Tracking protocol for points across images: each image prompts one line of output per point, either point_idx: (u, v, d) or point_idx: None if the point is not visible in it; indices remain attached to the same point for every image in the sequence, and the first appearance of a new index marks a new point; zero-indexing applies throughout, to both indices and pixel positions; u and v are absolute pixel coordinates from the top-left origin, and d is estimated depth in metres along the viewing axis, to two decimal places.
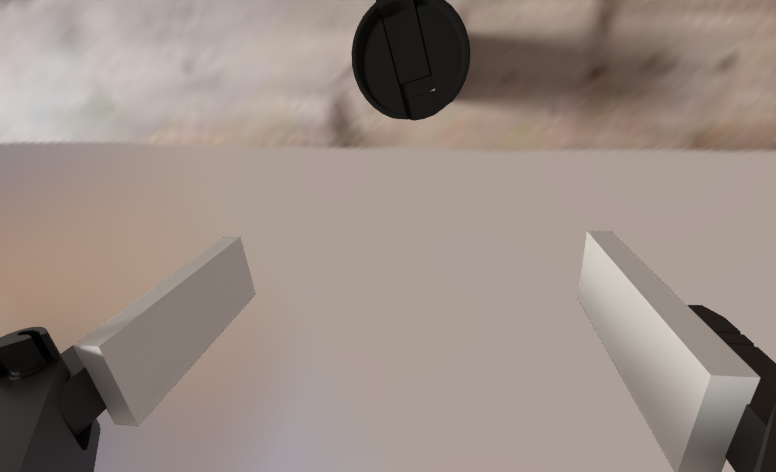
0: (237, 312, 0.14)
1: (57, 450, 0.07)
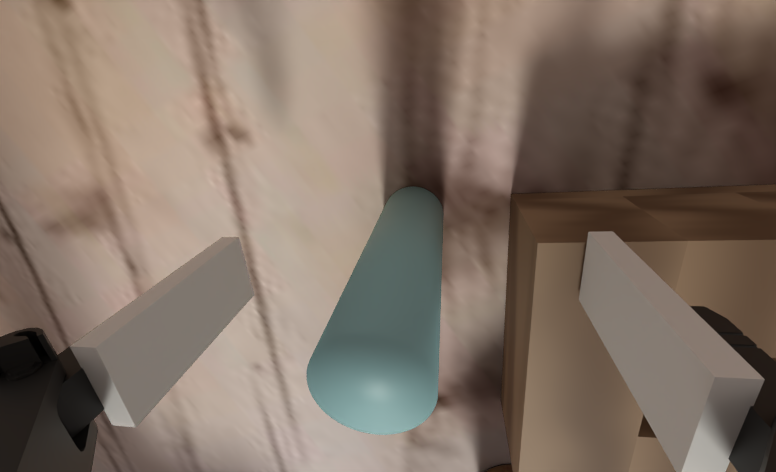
0: (235, 312, 0.14)
1: (54, 451, 0.07)
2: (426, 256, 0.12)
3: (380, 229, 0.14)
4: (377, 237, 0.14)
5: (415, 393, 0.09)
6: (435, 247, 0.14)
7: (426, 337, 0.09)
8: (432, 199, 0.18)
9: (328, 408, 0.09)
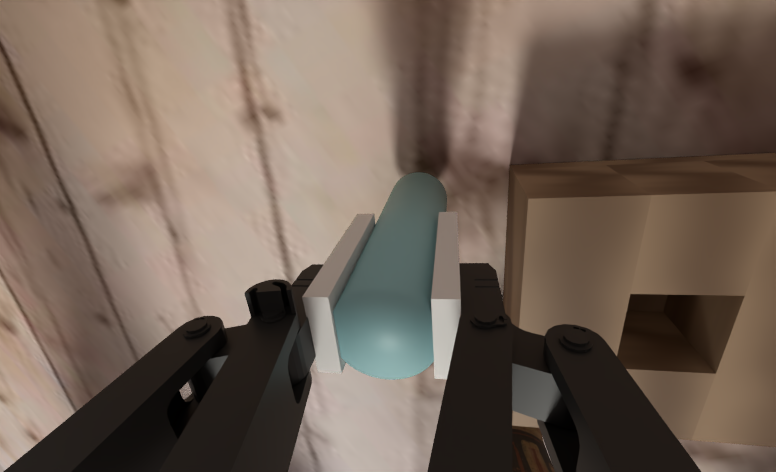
0: None
1: (279, 403, 0.08)
2: (430, 232, 0.14)
3: (389, 209, 0.16)
4: (386, 216, 0.15)
5: (421, 341, 0.10)
6: None
7: (430, 295, 0.10)
8: (436, 184, 0.20)
9: (347, 357, 0.11)
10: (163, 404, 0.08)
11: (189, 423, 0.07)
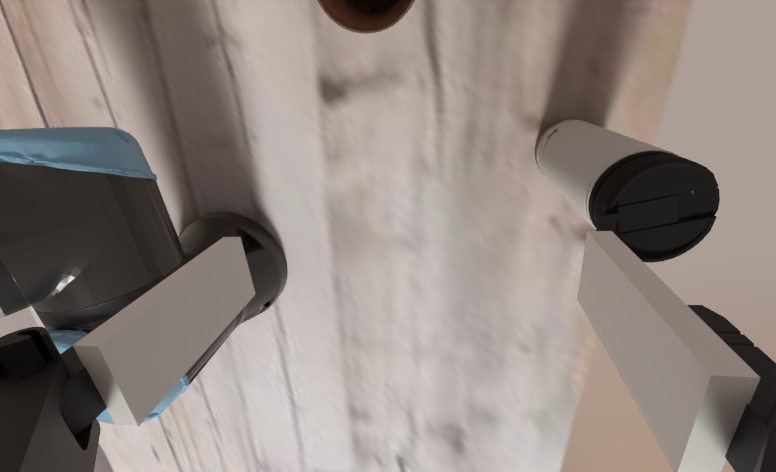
0: (237, 312, 0.14)
1: (57, 450, 0.07)
2: None
3: None
4: None
5: None
6: None
7: None
8: None
9: None
10: None
11: None
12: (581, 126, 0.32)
